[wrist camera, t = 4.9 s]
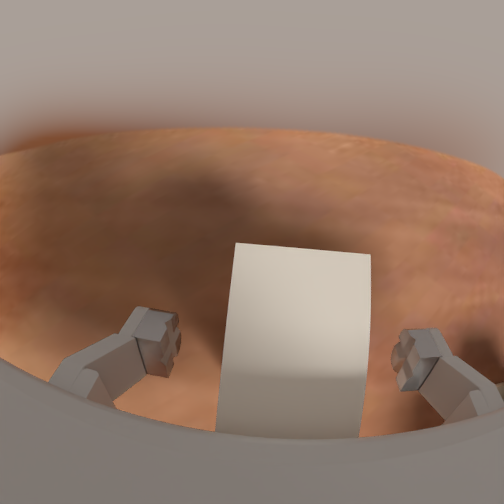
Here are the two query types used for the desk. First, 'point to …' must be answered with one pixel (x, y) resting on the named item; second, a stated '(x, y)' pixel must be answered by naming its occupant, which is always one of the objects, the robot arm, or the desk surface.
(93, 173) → the desk surface
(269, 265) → the cream upright slab block
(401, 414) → the desk surface
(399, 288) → the desk surface
